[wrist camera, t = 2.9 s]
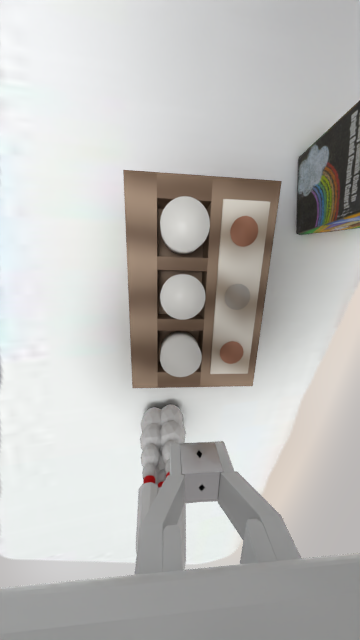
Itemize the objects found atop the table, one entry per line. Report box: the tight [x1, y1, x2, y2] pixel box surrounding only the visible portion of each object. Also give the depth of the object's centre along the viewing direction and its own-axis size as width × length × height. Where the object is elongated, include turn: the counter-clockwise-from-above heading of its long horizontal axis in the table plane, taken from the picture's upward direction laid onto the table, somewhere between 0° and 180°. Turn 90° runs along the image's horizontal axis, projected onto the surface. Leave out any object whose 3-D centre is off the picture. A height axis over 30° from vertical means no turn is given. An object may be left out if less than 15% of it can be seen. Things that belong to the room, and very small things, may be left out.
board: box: [123, 170, 281, 388], centre depth 22 cm, size 24×16×4 cm, turn 178°
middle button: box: [160, 274, 205, 320], centre depth 20 cm, size 5×5×3 cm
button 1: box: [160, 331, 202, 377], centre depth 22 cm, size 5×5×3 cm
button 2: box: [160, 196, 210, 255], centre depth 19 cm, size 5×5×3 cm
